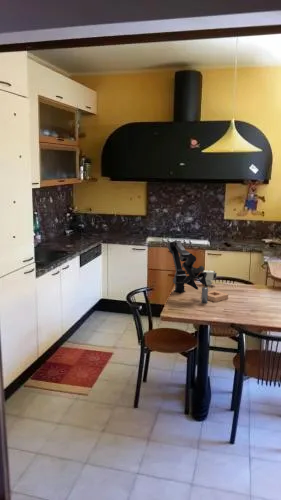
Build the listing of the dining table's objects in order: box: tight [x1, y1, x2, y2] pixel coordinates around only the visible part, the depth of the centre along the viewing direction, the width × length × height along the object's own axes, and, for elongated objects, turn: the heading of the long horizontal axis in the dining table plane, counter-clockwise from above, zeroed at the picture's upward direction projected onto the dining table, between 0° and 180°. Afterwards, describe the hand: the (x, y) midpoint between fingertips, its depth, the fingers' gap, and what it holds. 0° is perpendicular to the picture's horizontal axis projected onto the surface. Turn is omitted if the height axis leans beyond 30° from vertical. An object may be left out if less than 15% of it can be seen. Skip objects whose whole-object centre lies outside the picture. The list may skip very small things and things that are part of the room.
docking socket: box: [200, 289, 229, 303], centre depth 278 cm, size 13×13×3 cm
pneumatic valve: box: [200, 269, 217, 287], centre depth 310 cm, size 6×12×12 cm, turn 77°
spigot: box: [201, 286, 209, 304], centre depth 268 cm, size 4×4×10 cm
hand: (202, 288), depth 268 cm, fingers open, 9 cm apart
